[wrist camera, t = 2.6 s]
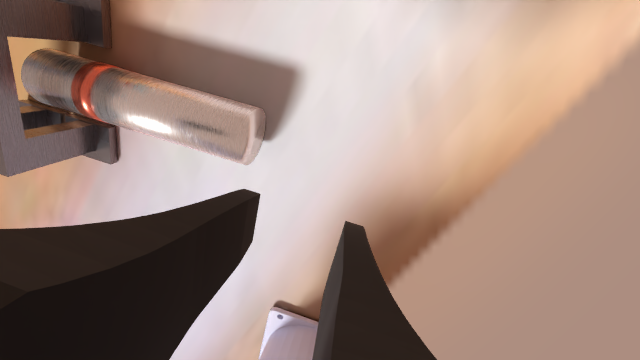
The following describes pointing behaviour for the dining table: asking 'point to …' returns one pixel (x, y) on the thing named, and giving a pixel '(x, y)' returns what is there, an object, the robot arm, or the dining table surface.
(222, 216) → the robot arm
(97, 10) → the grey holder stand
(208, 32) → the dining table surface
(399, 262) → the dining table surface
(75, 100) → the silver cylinder
